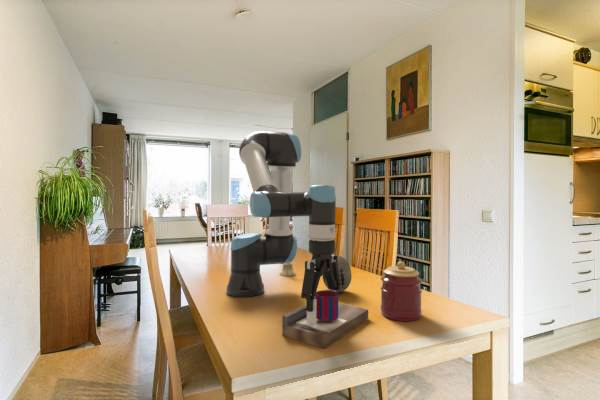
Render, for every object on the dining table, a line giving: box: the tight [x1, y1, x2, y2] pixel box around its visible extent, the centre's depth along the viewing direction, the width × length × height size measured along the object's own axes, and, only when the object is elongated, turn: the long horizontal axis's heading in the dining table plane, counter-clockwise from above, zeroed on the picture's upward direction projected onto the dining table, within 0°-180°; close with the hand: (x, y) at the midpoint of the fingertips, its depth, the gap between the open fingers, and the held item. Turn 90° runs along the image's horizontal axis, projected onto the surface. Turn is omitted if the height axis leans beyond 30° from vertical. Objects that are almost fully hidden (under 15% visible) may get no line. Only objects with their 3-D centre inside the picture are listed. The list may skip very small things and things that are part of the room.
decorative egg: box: [322, 254, 352, 293], centre depth 137 cm, size 12×12×15 cm
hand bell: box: [279, 262, 297, 277], centre depth 168 cm, size 8×8×16 cm
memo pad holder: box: [281, 302, 369, 349], centre depth 101 cm, size 14×26×6 cm, turn 144°
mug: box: [314, 289, 339, 321], centre depth 97 cm, size 7×10×7 cm
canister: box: [380, 260, 423, 322], centre depth 111 cm, size 13×13×18 cm
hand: (321, 316), depth 97 cm, fingers closed on mug, 10 cm apart
